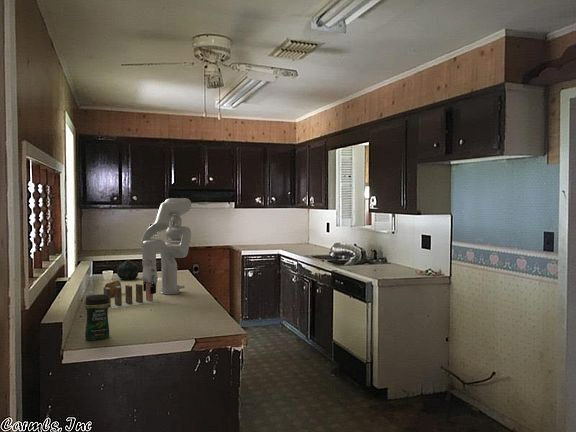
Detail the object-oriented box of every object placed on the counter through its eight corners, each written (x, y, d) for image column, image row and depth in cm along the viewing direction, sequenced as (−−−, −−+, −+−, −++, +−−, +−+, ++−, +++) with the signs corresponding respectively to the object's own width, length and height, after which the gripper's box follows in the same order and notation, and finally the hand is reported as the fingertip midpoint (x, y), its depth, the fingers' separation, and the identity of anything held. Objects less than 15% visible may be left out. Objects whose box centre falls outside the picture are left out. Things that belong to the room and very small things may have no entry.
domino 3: (129, 302, 275) (128, 284, 274) (132, 303, 271) (132, 286, 270) (125, 302, 273) (125, 285, 273) (128, 304, 269) (128, 286, 269)
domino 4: (139, 301, 278) (139, 283, 278) (142, 302, 275) (142, 284, 274) (135, 301, 277) (135, 283, 277) (139, 302, 273) (139, 285, 273)
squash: (125, 269, 365) (119, 256, 355) (144, 270, 362) (138, 257, 352) (117, 284, 355) (110, 271, 345) (136, 286, 352) (130, 272, 342)
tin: (108, 297, 290) (107, 283, 289) (103, 297, 290) (103, 283, 290) (121, 293, 304) (121, 279, 304) (117, 292, 305) (116, 279, 305)
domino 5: (149, 299, 282) (149, 282, 282) (152, 301, 278) (152, 283, 278) (146, 300, 281) (145, 282, 281) (149, 301, 277) (149, 284, 277)
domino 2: (118, 303, 271) (118, 286, 270) (121, 305, 267) (121, 287, 267) (114, 304, 270) (114, 286, 269) (118, 306, 266) (117, 287, 265)
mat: (150, 299, 286) (150, 298, 286) (158, 302, 277) (158, 301, 277) (94, 306, 266) (94, 305, 266) (101, 310, 257) (101, 309, 257)
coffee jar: (86, 342, 202) (85, 297, 201) (84, 337, 209) (83, 294, 208) (111, 339, 206) (110, 295, 205) (108, 334, 213) (107, 292, 212)
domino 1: (107, 305, 267) (107, 287, 267) (110, 307, 263) (110, 288, 263) (103, 305, 266) (103, 287, 265) (106, 307, 262) (106, 289, 261)
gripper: (161, 263, 275) (162, 293, 275) (149, 260, 288) (149, 289, 289) (149, 265, 270) (149, 295, 271) (136, 261, 283) (137, 290, 284)
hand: (149, 292), depth 280 cm, fingers open, 9 cm apart
